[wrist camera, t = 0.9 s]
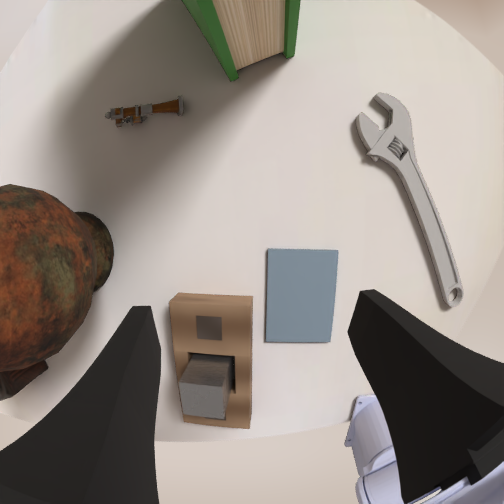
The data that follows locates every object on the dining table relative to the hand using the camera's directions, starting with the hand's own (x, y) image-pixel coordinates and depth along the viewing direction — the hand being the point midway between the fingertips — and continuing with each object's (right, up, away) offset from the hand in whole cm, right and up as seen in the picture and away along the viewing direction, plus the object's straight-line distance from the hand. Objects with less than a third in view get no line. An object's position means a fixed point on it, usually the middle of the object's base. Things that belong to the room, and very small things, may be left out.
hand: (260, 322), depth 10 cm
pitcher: (-23, +1, +22) cm, 32 cm away
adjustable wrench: (+17, +7, +18) cm, 26 cm away
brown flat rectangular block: (-4, -10, +22) cm, 25 cm away
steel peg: (-4, -10, +22) cm, 25 cm away
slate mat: (+5, -2, +20) cm, 21 cm away
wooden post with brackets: (-11, +17, +19) cm, 27 cm away
